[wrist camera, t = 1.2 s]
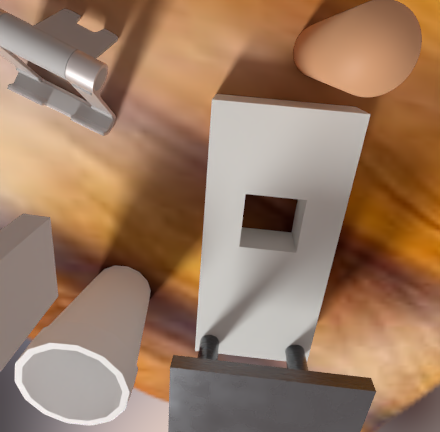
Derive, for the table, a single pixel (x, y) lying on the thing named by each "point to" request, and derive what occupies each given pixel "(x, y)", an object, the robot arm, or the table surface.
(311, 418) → the dark grey l-shaped piece
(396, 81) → the peg
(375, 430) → the table surface
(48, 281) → the robot arm
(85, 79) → the portable electronic device stand
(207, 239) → the board
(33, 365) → the foam cup
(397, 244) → the table surface
